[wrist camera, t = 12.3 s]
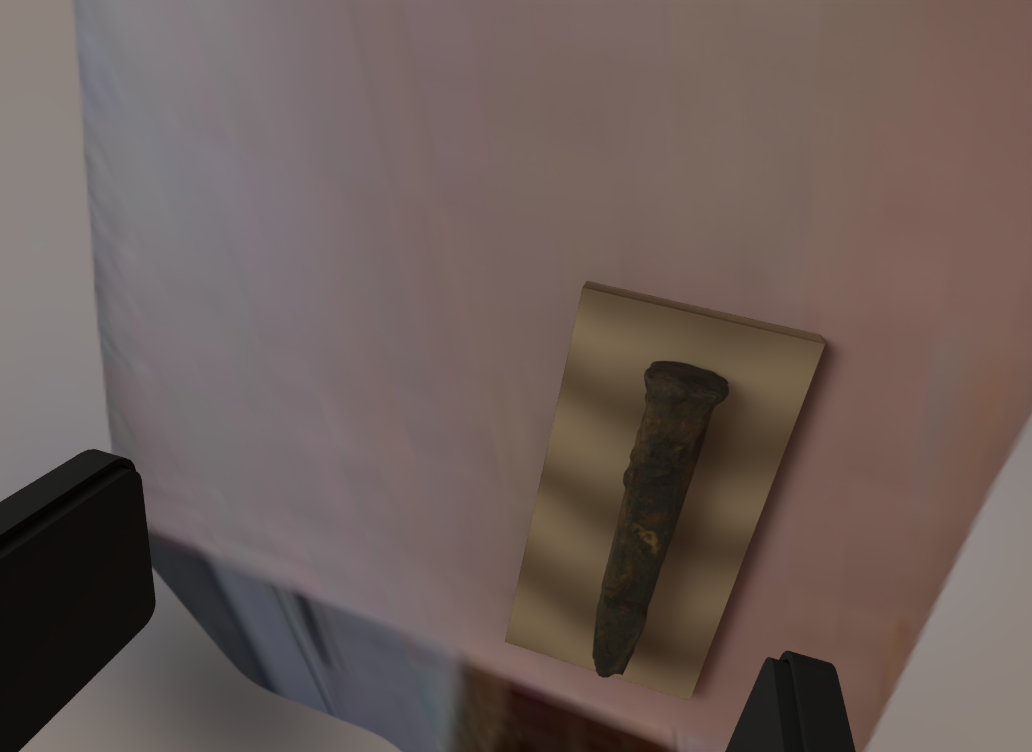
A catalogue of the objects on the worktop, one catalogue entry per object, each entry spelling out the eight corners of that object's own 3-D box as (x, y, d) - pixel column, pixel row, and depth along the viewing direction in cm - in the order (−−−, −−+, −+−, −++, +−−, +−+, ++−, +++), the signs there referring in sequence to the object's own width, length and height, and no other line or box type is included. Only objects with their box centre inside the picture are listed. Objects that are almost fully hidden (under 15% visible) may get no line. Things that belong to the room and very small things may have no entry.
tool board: (586, 280, 36) (582, 287, 34) (819, 335, 34) (825, 344, 32) (510, 626, 45) (504, 641, 44) (689, 682, 43) (689, 701, 42)
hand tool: (651, 346, 34) (645, 378, 30) (729, 368, 34) (734, 404, 30) (565, 623, 42) (550, 679, 38) (627, 644, 42) (620, 704, 37)
